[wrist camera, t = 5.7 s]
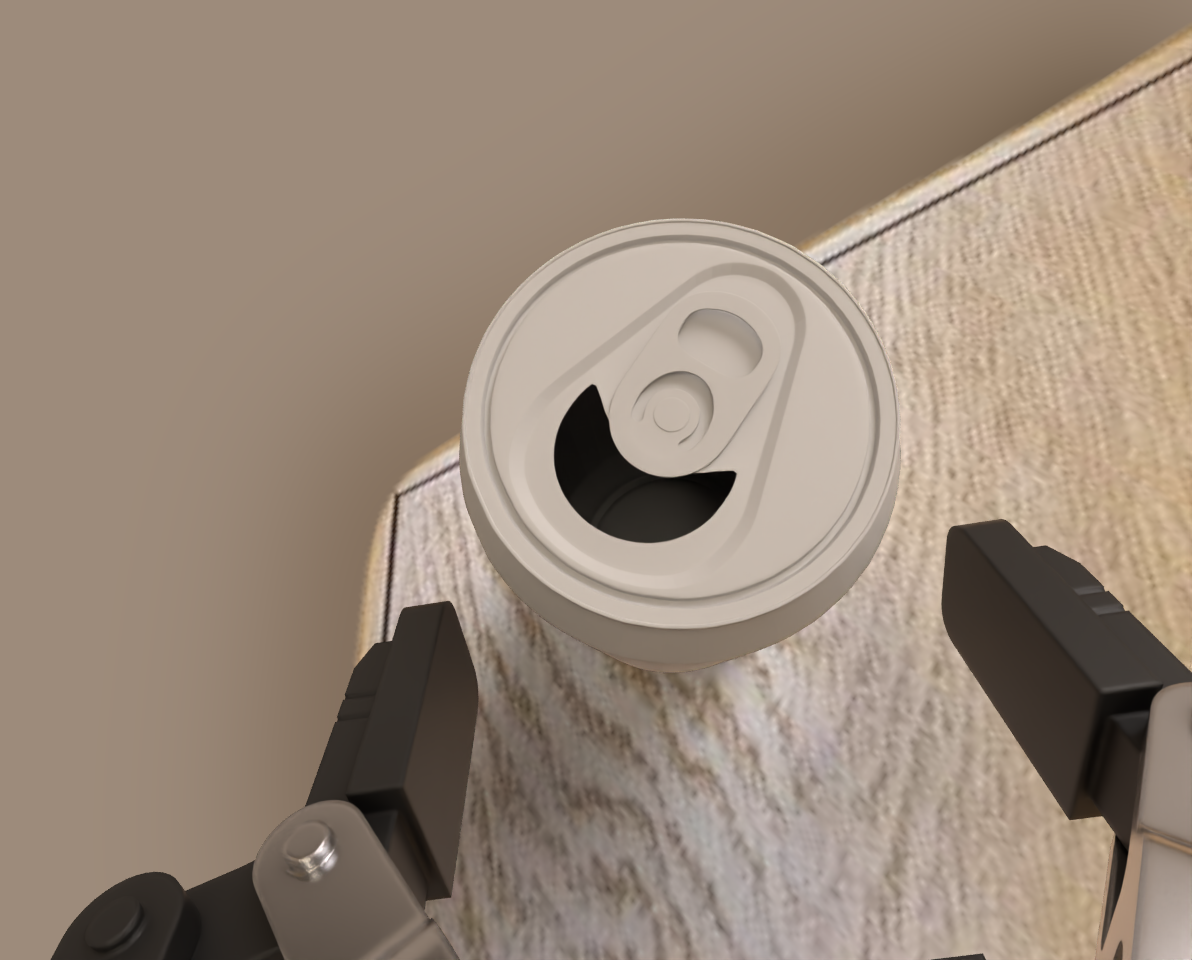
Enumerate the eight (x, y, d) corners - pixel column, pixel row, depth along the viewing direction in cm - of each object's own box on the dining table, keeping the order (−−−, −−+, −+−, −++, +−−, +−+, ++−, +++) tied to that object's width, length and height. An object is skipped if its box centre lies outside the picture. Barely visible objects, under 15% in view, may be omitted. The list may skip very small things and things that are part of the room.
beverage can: (512, 586, 21) (332, 475, 10) (639, 408, 22) (611, 117, 11) (703, 721, 20) (756, 780, 8) (827, 525, 21) (1029, 333, 9)
